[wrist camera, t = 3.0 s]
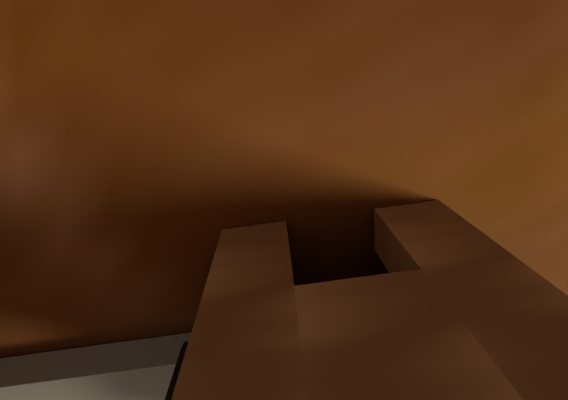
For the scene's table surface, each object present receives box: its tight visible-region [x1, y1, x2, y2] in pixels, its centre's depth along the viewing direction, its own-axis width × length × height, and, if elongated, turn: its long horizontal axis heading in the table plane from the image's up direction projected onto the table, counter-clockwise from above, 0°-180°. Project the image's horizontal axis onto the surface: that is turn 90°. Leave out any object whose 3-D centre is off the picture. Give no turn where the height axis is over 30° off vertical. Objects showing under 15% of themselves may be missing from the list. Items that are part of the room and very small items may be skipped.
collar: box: [171, 200, 568, 400], centre depth 7 cm, size 6×6×6 cm
